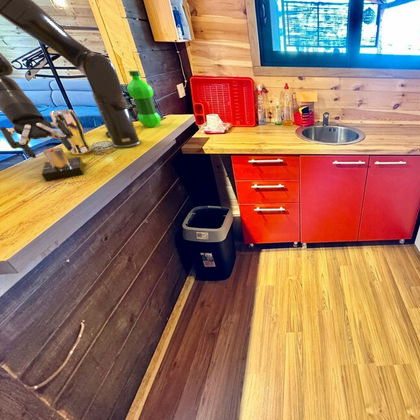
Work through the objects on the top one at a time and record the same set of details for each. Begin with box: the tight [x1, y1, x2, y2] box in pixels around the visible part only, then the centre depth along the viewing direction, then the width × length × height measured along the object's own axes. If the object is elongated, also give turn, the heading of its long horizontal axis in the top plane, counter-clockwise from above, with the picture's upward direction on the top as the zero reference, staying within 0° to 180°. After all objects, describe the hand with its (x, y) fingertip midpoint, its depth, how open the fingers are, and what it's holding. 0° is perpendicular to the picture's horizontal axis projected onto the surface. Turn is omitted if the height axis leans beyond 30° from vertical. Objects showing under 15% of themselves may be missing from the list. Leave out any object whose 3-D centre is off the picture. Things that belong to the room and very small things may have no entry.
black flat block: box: [41, 156, 84, 182], centre depth 84 cm, size 11×9×3 cm
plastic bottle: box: [126, 70, 162, 128], centre depth 125 cm, size 10×10×25 cm
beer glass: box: [49, 109, 92, 155], centre depth 96 cm, size 7×7×15 cm
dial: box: [42, 147, 71, 169], centre depth 81 cm, size 4×4×6 cm
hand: (52, 152), depth 81 cm, fingers open, 8 cm apart
